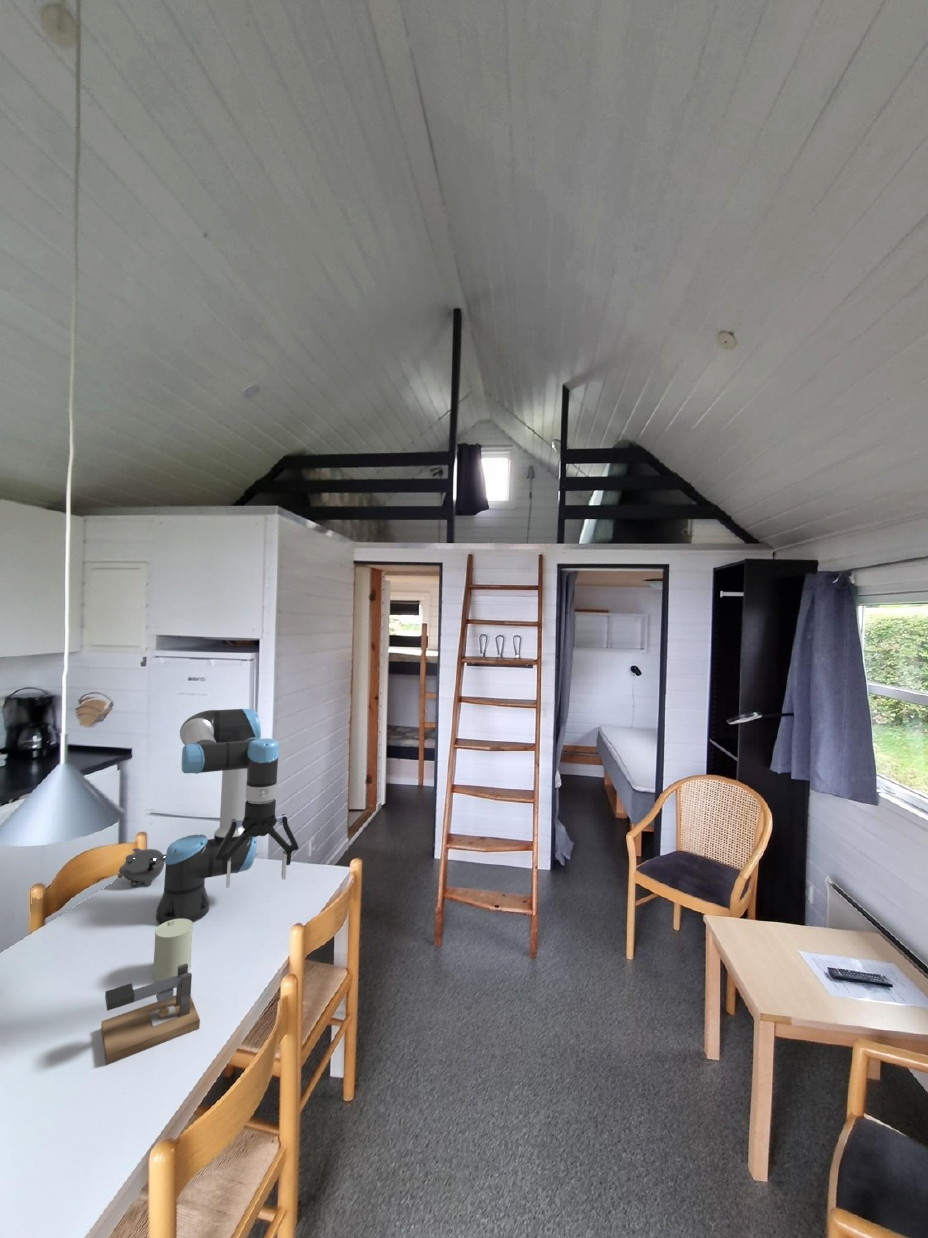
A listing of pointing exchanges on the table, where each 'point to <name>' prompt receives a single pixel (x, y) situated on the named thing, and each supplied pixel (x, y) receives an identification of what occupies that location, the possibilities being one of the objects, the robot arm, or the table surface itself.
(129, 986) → the lever
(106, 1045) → the base
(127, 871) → the piggy bank
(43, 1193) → the table surface
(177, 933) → the can
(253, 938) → the table surface
